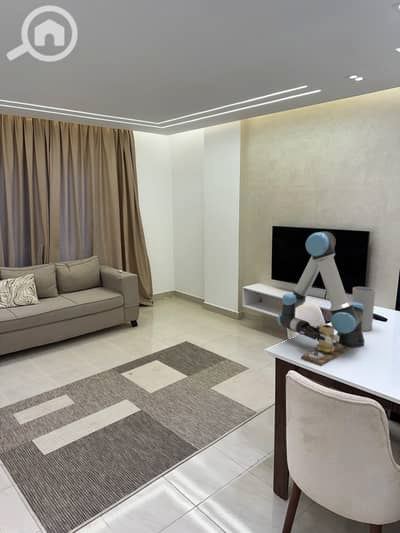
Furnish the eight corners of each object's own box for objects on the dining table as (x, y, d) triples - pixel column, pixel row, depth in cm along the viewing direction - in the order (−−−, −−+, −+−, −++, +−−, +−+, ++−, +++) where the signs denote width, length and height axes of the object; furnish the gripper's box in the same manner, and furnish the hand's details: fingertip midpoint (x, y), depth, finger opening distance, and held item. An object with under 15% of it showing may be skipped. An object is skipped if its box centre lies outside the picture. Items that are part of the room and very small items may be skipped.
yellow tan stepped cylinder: (324, 344, 196) (326, 322, 194) (338, 350, 188) (339, 327, 186) (312, 347, 192) (314, 325, 190) (326, 353, 184) (327, 330, 182)
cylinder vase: (352, 323, 240) (355, 285, 236) (373, 327, 233) (377, 288, 229) (347, 328, 230) (350, 289, 226) (369, 332, 223) (372, 292, 219)
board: (328, 344, 204) (329, 331, 203) (348, 350, 196) (349, 337, 195) (301, 358, 185) (301, 344, 184) (321, 365, 177) (322, 351, 176)
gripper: (311, 330, 209) (346, 343, 189) (287, 335, 200) (321, 350, 181) (312, 317, 208) (347, 329, 188) (288, 322, 199) (322, 335, 179)
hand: (334, 339), depth 184 cm, fingers closed on yellow tan stepped cylinder, 5 cm apart
